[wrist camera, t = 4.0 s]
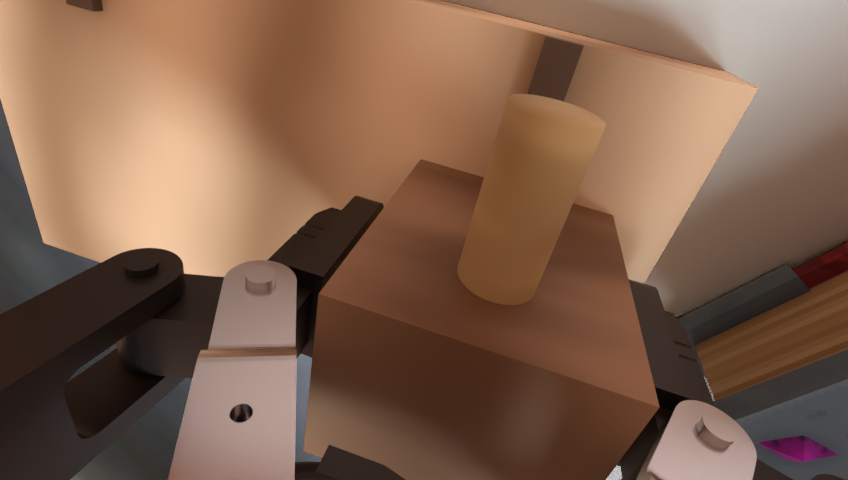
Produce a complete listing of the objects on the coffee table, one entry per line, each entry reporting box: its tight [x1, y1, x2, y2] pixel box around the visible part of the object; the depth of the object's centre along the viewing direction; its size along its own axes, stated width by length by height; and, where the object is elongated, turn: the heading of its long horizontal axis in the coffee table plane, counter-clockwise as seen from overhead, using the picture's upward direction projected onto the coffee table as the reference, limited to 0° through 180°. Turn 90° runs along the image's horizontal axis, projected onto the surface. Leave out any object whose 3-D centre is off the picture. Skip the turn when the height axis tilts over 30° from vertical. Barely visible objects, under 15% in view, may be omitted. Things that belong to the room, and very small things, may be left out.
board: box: [0, 0, 758, 284], centre depth 14 cm, size 20×11×2 cm, turn 79°
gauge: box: [303, 94, 659, 480], centre depth 10 cm, size 5×10×6 cm, turn 169°
